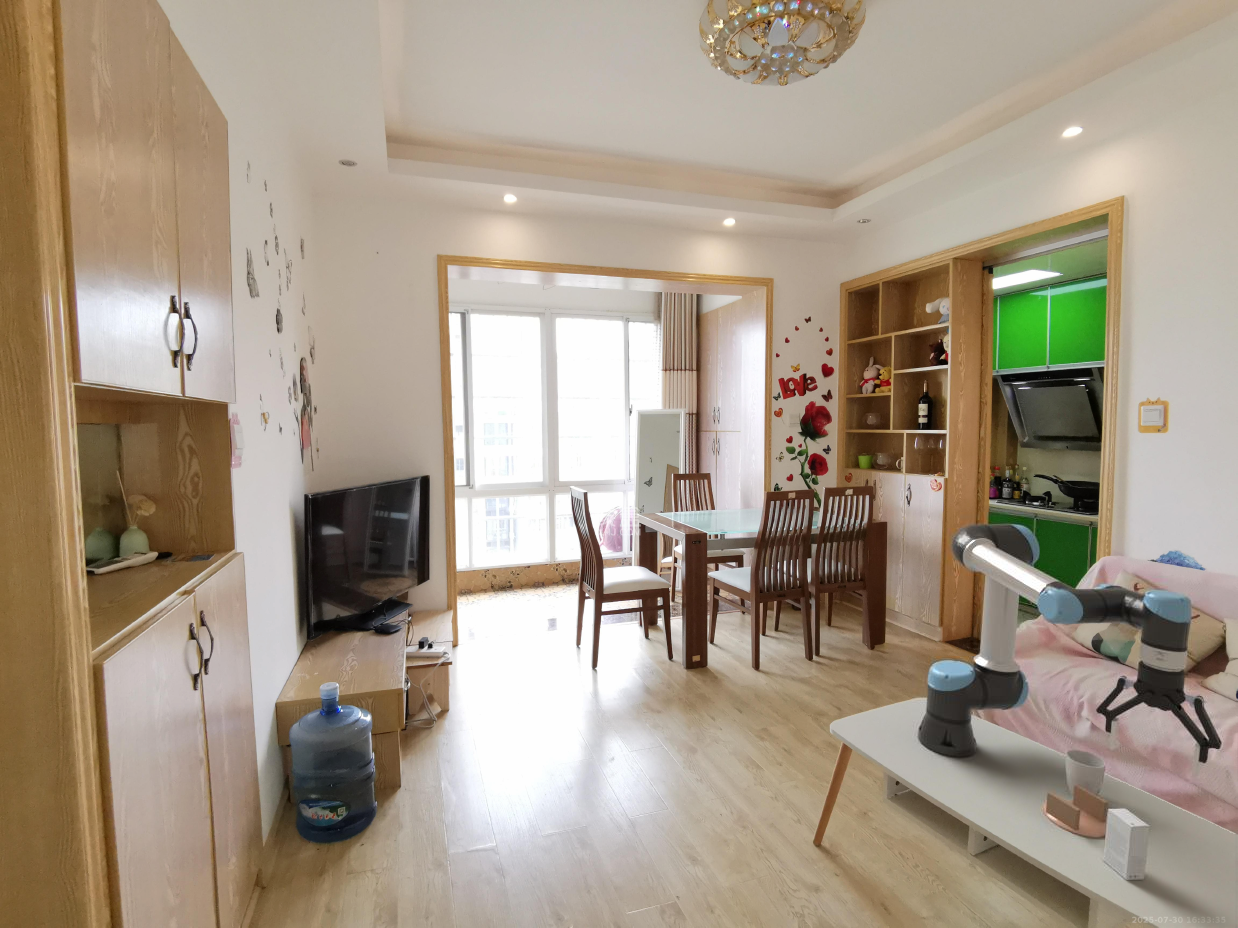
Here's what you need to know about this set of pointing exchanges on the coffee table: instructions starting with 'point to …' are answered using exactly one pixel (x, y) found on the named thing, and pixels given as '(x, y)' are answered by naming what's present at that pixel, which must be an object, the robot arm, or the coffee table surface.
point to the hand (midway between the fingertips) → (1152, 760)
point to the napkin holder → (1078, 813)
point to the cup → (1084, 770)
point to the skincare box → (1126, 844)
